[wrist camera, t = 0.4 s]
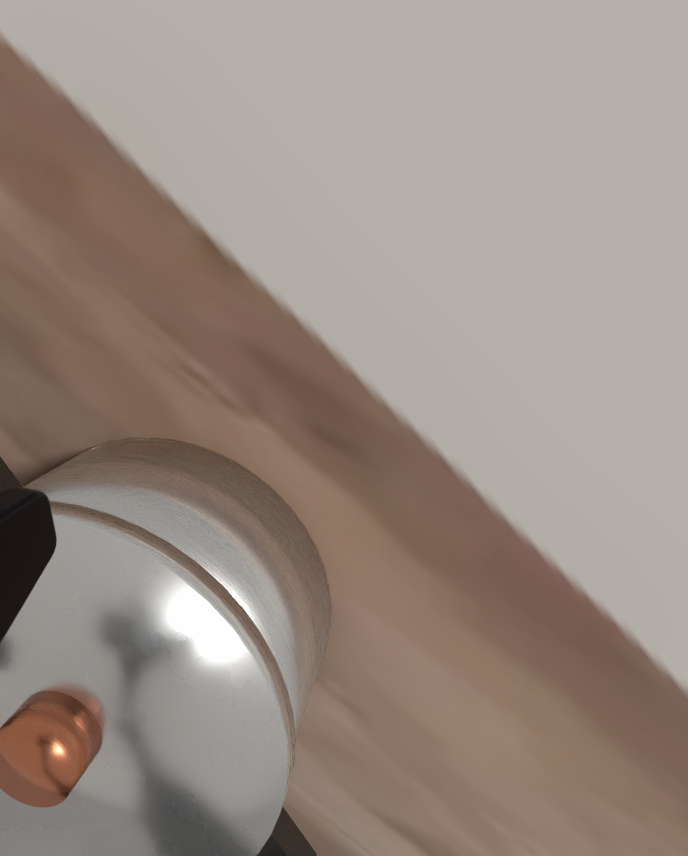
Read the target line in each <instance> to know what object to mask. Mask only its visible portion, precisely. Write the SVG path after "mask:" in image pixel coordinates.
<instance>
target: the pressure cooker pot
mask: <svg viewBox="0 0 688 856" xmlns="http://www.w3.org/2000/svg"><path fill="white" fill-rule="evenodd" d="M12 487H22V486H21V484H20V483H19V482H18V480H17V479H16V478H15V476H14V475H13V474H12V472H11V471H10V469H9V468H8V467H7V465H6V464H5V463H4V461H3V460H2V458H1V457H0V492H1V491H4V490H6V489H9V488H12ZM24 488H29V489H33V490H38V491H42V492H43V493H45V494H46V496H47V497H48V499H49V501H55V502H62V503H68V504H74V505H80V506H84V507H87V508H91V509H94V510H98V511H101V512H105V513H108V514H111V515H114V516H116V517H118V518H121V519H123V520H126V521H128V522H130V523H133V524H135V525H137V526H140V527H142V528H144V529H145V530H147V531H149V532H151V533H153V534H154V535H156V536H158V537H160V538H162V539H163V540H165V541H167V542H169V543H170V544H172V545H173V546H175V547H176V548H177V549H179V550H180V551H182V552H183V553H184V554H186V555H187V556H189V557H190V558H192V559H193V560H194V561H196V562H197V563H198V564H199V565H201V566H202V567H203V568H204V569H205V570H206V571H207V572H208V573H210V574H211V575H212V576H213V577H214V578H215V579H216V580H217V581H219V582H220V583H221V584H222V585H223V586H224V587H225V589H226V590H227V591H228V592H229V593H230V594H231V595H232V596H233V597H234V598H235V600H236V601H237V602H238V603H239V604H240V605H241V606H242V607H243V608H244V610H245V611H246V613H247V614H248V615H249V617H250V618H251V620H252V621H253V622H254V624H255V625H256V627H257V628H258V629H259V631H260V632H261V634H262V635H263V637H264V639H265V641H266V643H267V644H268V646H269V648H270V650H271V652H272V654H273V655H274V657H275V659H276V661H277V663H278V666H279V669H280V671H281V674H282V676H283V679H284V681H285V684H286V686H287V690H288V694H289V698H290V702H291V706H292V710H293V715H294V726H295V737H296V734H297V731H298V728H299V725H300V722H301V719H302V716H303V714H304V711H305V708H306V705H307V702H308V699H309V696H310V693H311V690H312V687H313V684H314V681H315V679H316V676H317V673H318V670H319V667H320V664H321V661H322V658H323V655H324V652H325V649H326V646H327V643H328V638H329V633H330V627H331V599H330V590H329V584H328V580H327V576H326V573H325V569H324V565H323V563H322V560H321V558H320V556H319V553H318V551H317V548H316V546H315V544H314V542H313V541H312V539H311V537H310V535H309V533H308V532H307V530H306V528H305V526H304V525H303V524H302V522H301V521H300V520H299V518H298V517H297V516H296V514H295V513H294V512H293V510H292V509H291V508H290V507H289V506H288V504H287V503H286V502H285V501H284V500H283V499H282V498H281V497H280V496H279V495H278V494H277V493H276V492H275V491H274V490H273V489H272V488H271V487H269V486H268V485H267V484H266V483H265V482H263V481H262V480H261V479H260V478H259V477H258V476H256V475H255V474H253V473H252V472H250V471H249V470H247V469H246V468H244V467H243V466H241V465H239V464H238V463H236V462H234V461H232V460H230V459H228V458H226V457H224V456H222V455H220V454H218V453H216V452H213V451H211V450H208V449H205V448H202V447H200V446H197V445H194V444H189V443H185V442H181V441H176V440H170V439H160V438H129V439H124V440H118V441H113V442H108V443H105V444H102V445H100V446H97V447H94V448H91V449H89V450H87V451H85V452H83V453H81V454H79V455H77V456H76V457H74V458H72V459H70V460H69V461H67V462H65V463H63V464H62V465H60V466H58V467H57V468H55V469H53V470H51V471H50V472H48V473H46V474H45V475H43V476H41V477H39V478H38V479H36V480H34V481H33V482H31V483H29V484H27V485H26V486H24ZM316 855H317V854H316V852H315V851H314V850H313V848H312V847H311V845H310V844H309V843H308V841H307V840H306V838H305V837H304V836H303V834H302V833H301V832H300V830H299V829H298V827H297V826H296V825H295V823H294V822H293V820H292V819H291V818H290V816H289V815H288V813H287V812H286V811H285V809H284V808H283V806H282V809H281V812H280V815H279V817H278V820H277V822H276V824H275V827H274V829H273V831H272V833H271V835H270V837H269V838H268V840H267V841H266V843H265V844H264V846H263V847H262V849H261V850H260V852H259V853H258V854H257V855H256V856H316Z"/></svg>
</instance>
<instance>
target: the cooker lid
mask: <svg viewBox="0 0 688 856" xmlns="http://www.w3.org/2000/svg"><path fill="white" fill-rule="evenodd" d="M49 502H50V507H51V511H52V516H53V521H54V526H55V531H56V536H57V543H56V548H55V551H54V554H53V556H52V558H51V560H50V561H49V563H48V565H47V566H46V568H45V570H44V571H43V573H42V575H41V576H40V578H39V580H38V581H37V583H36V585H35V587H34V588H33V590H32V592H31V593H30V595H29V597H28V598H27V600H26V602H25V603H24V605H23V607H22V608H21V610H20V612H19V614H18V615H17V617H16V619H15V620H14V622H13V624H12V625H11V627H10V629H9V630H8V632H7V634H6V635H5V637H4V639H3V640H2V642H1V643H0V856H256V855H257V854H258V853H259V852H260V850H261V849H262V847H263V846H264V844H265V843H266V841H267V840H268V838H269V837H270V835H271V833H272V831H273V829H274V827H275V824H276V822H277V820H278V817H279V815H280V812H281V809H282V806H283V803H284V800H285V797H286V794H287V791H288V788H289V784H290V780H291V775H292V771H293V767H294V760H295V744H296V737H295V726H294V715H293V710H292V706H291V702H290V698H289V694H288V690H287V686H286V684H285V681H284V679H283V676H282V674H281V671H280V669H279V666H278V663H277V661H276V659H275V657H274V655H273V654H272V652H271V650H270V648H269V646H268V644H267V643H266V641H265V639H264V637H263V635H262V634H261V632H260V631H259V629H258V628H257V627H256V625H255V624H254V622H253V621H252V620H251V618H250V617H249V615H248V614H247V613H246V611H245V610H244V608H243V607H242V606H241V605H240V604H239V603H238V602H237V601H236V600H235V598H234V597H233V596H232V595H231V594H230V593H229V592H228V591H227V590H226V589H225V587H224V586H223V585H222V584H221V583H220V582H219V581H217V580H216V579H215V578H214V577H213V576H212V575H211V574H210V573H208V572H207V571H206V570H205V569H204V568H203V567H202V566H201V565H199V564H198V563H197V562H196V561H194V560H193V559H192V558H190V557H189V556H187V555H186V554H184V553H183V552H182V551H180V550H179V549H177V548H176V547H175V546H173V545H172V544H170V543H169V542H167V541H165V540H163V539H162V538H160V537H158V536H156V535H154V534H153V533H151V532H149V531H147V530H145V529H144V528H142V527H140V526H137V525H135V524H133V523H130V522H128V521H126V520H123V519H121V518H118V517H116V516H114V515H111V514H108V513H105V512H101V511H98V510H94V509H91V508H87V507H84V506H80V505H74V504H68V503H62V502H55V501H49Z"/></svg>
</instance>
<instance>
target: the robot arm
mask: <svg viewBox="0 0 688 856" xmlns="http://www.w3.org/2000/svg"><path fill="white" fill-rule="evenodd" d="M56 543H57V536H56V531H55V526H54V521H53V516H52V511H51V507H50V502H49V499H48V497H47V496H46V494H45V493H43V492H42V491H38V490H33V489H29V488H24V487H12V488H9V489H6V490H4V491H1V492H0V643H1V642H2V640H3V639H4V637H5V635H6V634H7V632H8V630H9V629H10V627H11V625H12V624H13V622H14V620H15V619H16V617H17V615H18V614H19V612H20V610H21V608H22V607H23V605H24V603H25V602H26V600H27V598H28V597H29V595H30V593H31V592H32V590H33V588H34V587H35V585H36V583H37V581H38V580H39V578H40V576H41V575H42V573H43V571H44V570H45V568H46V566H47V565H48V563H49V561H50V560H51V558H52V556H53V554H54V551H55V548H56Z"/></svg>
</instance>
